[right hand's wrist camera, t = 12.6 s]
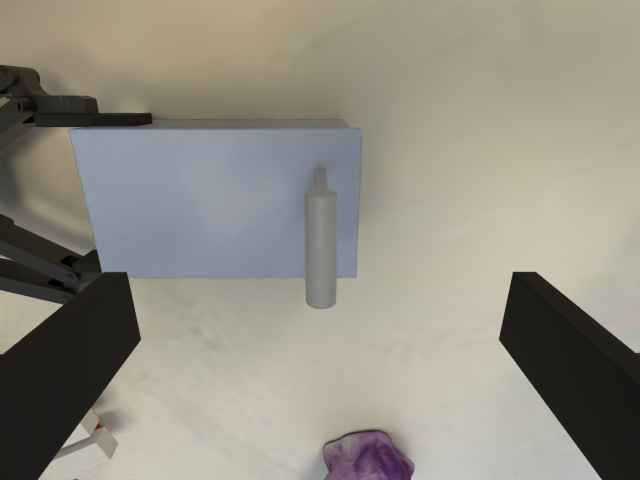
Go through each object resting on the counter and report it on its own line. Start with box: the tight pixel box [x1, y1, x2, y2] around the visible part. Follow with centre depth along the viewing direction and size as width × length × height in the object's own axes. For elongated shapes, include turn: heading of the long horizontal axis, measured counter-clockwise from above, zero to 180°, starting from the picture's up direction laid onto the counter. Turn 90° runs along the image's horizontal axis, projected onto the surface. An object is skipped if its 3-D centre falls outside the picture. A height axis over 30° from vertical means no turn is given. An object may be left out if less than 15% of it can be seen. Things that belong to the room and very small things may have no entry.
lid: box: [69, 128, 362, 309], centre depth 21 cm, size 18×10×9 cm, turn 90°
